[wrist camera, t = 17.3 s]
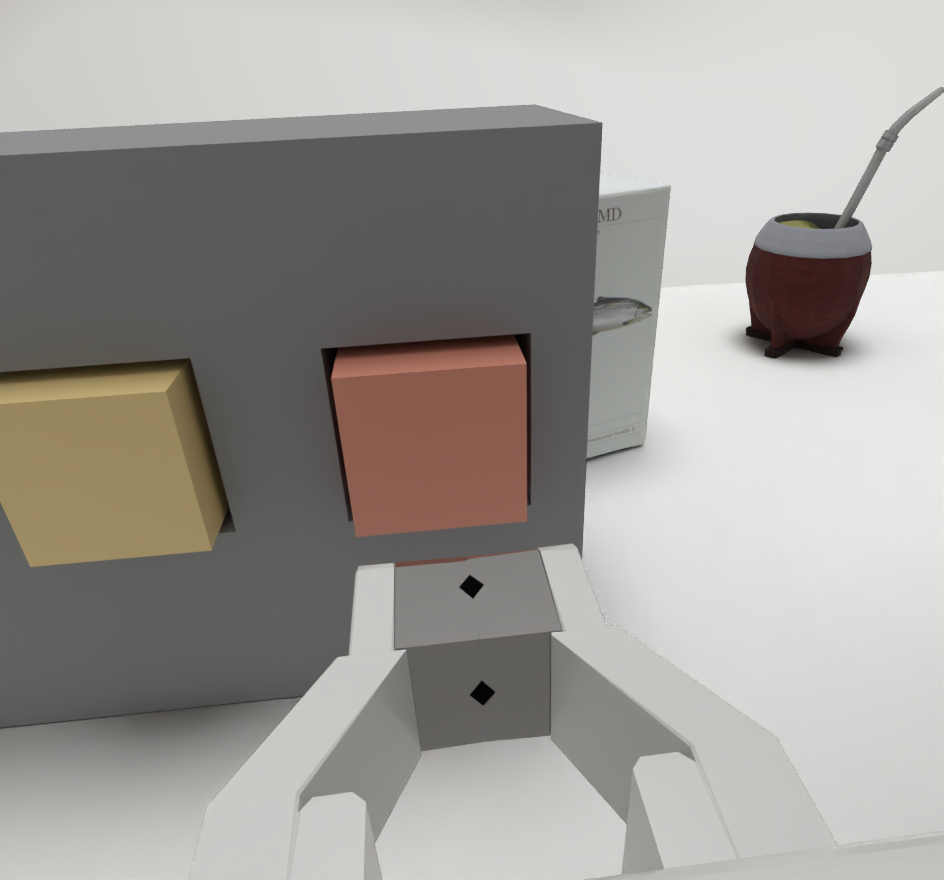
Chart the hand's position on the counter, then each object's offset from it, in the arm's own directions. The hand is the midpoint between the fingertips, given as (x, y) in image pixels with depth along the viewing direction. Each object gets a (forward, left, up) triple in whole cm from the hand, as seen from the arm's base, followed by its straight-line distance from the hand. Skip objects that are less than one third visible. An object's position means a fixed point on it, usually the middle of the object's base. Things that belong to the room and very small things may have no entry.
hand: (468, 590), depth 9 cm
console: (+14, +2, -11) cm, 18 cm away
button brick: (+8, -4, -4) cm, 9 cm away
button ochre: (+11, +4, -4) cm, 12 cm away
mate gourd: (+18, -37, -11) cm, 43 cm away
